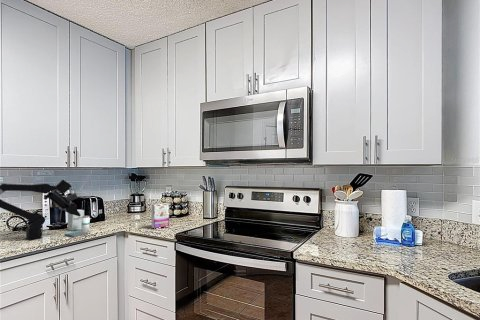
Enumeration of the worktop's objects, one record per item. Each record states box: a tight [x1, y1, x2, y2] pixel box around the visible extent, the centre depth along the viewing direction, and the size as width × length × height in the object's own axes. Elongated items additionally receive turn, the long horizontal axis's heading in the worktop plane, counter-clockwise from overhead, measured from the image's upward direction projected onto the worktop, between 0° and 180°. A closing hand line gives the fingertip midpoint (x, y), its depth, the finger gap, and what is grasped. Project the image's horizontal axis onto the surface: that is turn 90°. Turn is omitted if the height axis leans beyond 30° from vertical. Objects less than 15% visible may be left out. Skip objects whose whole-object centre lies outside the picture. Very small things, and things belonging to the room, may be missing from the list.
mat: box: [64, 230, 89, 238], centre depth 167 cm, size 9×9×1 cm
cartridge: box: [80, 215, 91, 233], centre depth 177 cm, size 5×5×10 cm
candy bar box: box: [151, 203, 170, 229], centre depth 189 cm, size 11×5×16 cm, turn 129°
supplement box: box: [67, 209, 85, 232], centre depth 184 cm, size 7×7×13 cm
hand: (77, 214), depth 174 cm, fingers open, 9 cm apart
